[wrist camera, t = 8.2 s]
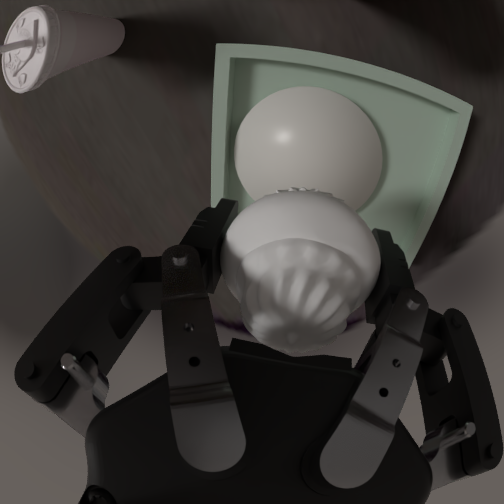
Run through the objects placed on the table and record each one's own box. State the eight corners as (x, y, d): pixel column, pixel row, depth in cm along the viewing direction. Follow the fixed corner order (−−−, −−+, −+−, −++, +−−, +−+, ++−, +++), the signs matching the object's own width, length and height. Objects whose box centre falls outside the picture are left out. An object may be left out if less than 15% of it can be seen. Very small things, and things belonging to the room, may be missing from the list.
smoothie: (151, 27, 15) (0, 40, 5) (109, 81, 19) (-24, 138, 8) (110, -5, 13) (-28, 3, 2) (74, 47, 16) (-51, 88, 6)
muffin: (369, 156, 10) (419, 268, 5) (363, 266, 14) (373, 387, 9) (229, 163, 12) (157, 267, 7) (252, 266, 16) (218, 378, 10)
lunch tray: (227, 45, 16) (216, 43, 14) (457, 99, 14) (473, 106, 12) (219, 221, 26) (211, 236, 24) (400, 256, 24) (405, 274, 22)
